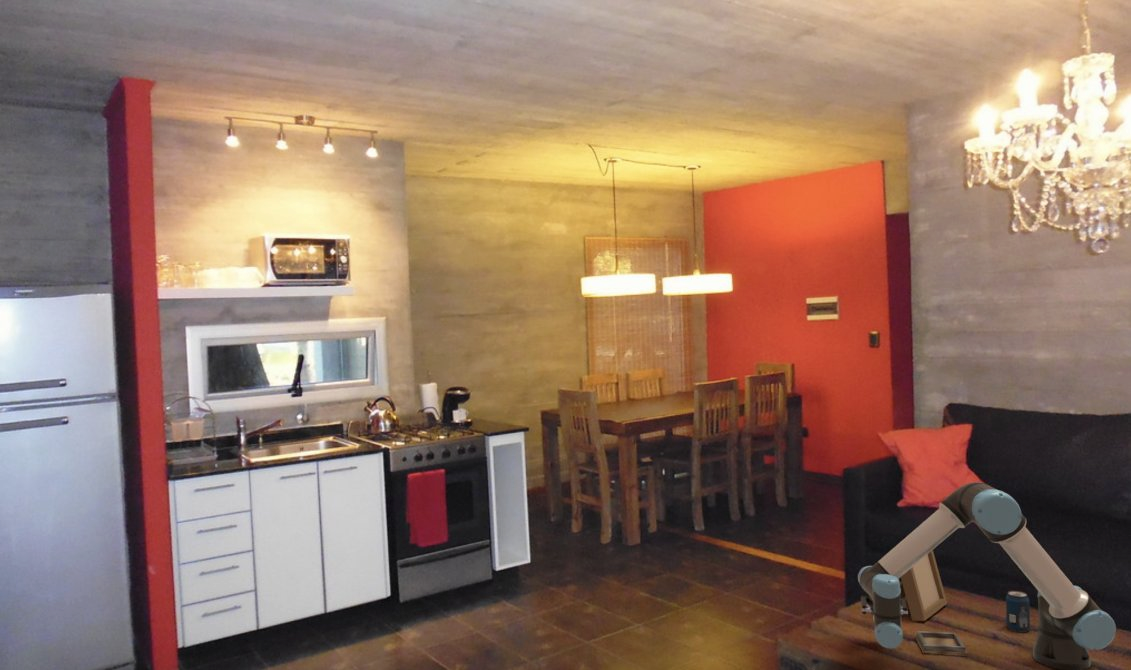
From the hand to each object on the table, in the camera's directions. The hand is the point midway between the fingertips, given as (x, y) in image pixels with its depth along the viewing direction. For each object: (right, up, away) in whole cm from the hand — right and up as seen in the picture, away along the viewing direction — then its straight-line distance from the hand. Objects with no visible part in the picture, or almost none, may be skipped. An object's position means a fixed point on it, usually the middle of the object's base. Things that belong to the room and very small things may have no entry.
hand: (881, 593), depth 276 cm
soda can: (+47, -13, +4) cm, 49 cm away
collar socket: (+16, -15, -8) cm, 23 cm away
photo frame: (+21, -14, +24) cm, 35 cm away
